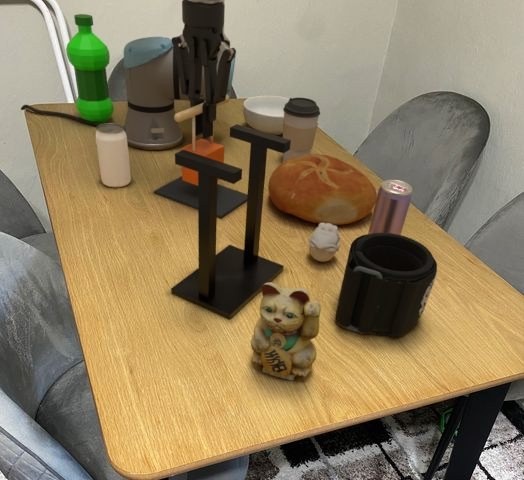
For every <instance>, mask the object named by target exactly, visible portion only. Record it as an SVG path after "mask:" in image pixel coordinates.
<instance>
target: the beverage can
mask: <svg viewBox="0 0 524 480" xmlns="http://www.w3.org/2000/svg"><path fill="white" fill-rule="evenodd" d="M412 198H413V186H412V185H410V183H407V182H405V181H402V180H398V179H386V180H383V181H382V182H381V184H380V186H379V188H378V191H377V199H376V203H375V205H374V207H373V210H372V216H371V220H370V224H369V228H368V233H367V234H373V233H392V234H398V235H402V232H403V229H404V225H405V222H406V218H407V215H408V212H409V208H410V205H411V201H412Z"/></svg>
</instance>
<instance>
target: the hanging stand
mask: <svg viewBox="0 0 524 480" xmlns="http://www.w3.org/2000/svg"><path fill="white" fill-rule="evenodd" d="M229 138H232V139H235V140H239V141H243V142H245V143H248V144H250V148H249V149H250V150H249V164H248V165H249V166H248V179H247V180H248V181H247V201H246V211H245V228H244V229H245V230H244V245H243V249H242V248H239V247H237V246H234V245H232V244H228V245H227V246H226V247H225V248H223V249H222V250H220V251H219V252H218V253H217V222H218V221H217V220H218V219H217V218H218V217H217V184H218V181H217V178H218V179H220V180H221V181H223V182H227V183H230V184H231V185H232V184H233V185H235V184H237V183H239V182H240V181H242V179H243V169H242V168H241V167H237V166H234V165H231V164H230V163H229V164H228V163H225V162H224V163H223V162H219V161H216V160H213V159H210V158H207V157H204V156H201V155H198V154H195V153H192V152H189V151H186V150H180V151H177V152H175V153H174V164H175V165H177V166H179V167H182V166H183V167H186V168H189V169H191V170H194V171H197V172H198V209H197V217H198V219H197V221H198V222H197V226H198V228H197V229H198V231H197V232H198V236H197V237H198V238H197V239H198V240H197V241H198V247H197V249H198V268H196V269H195V270H193V272H190V274H188V275H187V276H186V277H184V278H183V279H182V280H180V281H179V282H178V283H176V284H175V285H174V286H172V287H171V288H170V290H171V291H170V292H171V294H172V295H175V296H177V297H179V298H181V299H184V300H186V301H187V302H190V303H193V304H194V305H197V306H199V307H201V308H204V309H206V310H208V311H210V312H212V313H214V314H217V315H220V316H221V317H224V318H225V319H228V320H231V319H232V318H233V317H235V315H237V314H238V313H239V312H240V311H241V310H242V309H243V308H244V307H245V306H246V305H247V304H248V303H250V302H251V301H252V300H253V299H254V298H255V297H256V296H257V295H259V293H260V292H262V289H261V288H262V285H264V284H265V283H269V282H271V283H272V281H273V280H274V279H275V278H277V277H278V276H279V275H280V274H281V273H282V272H284V267H285V265H283V264H280V263H278V262H275V261H272V260H270V259H268V258H265V257H262V256H260V255H259V252H260V240H261V239H260V238H261V228H262V218H263V217H262V216H263V205H264V193H265V192H264V191H265V179H266V170H267V169H266V168H267V159H268V158H267V155H268V150H272V151H275V152H278V153H281V154H283V153H285V152H287V151H288V150H290V143H291V140H288V139H285V138H283V136H282V137H281V136H279V135H271V134H268V133H265V132H261V131H258V130H256V129H254V128H252V127H247V126H244V125H241V124H238V123H236V124H234V125H232V126H229Z"/></svg>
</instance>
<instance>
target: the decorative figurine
mask: <svg viewBox="0 0 524 480" xmlns="http://www.w3.org/2000/svg"><path fill="white" fill-rule="evenodd" d="M261 289H262V290H261V294H262V298H261V300H260V304H259V316H260V317H259V318H258V320H257V321H256V322H255V325H254V327H253V335H252V336H251V339H250V347H251V350H252V351H253V352H252V363H253V364H256V365H258V366H262V373H265V374H267V375H270V376H273V377H277V378H279V379H284V380H287V381H294V380H295V377H296V376H298V377H303V378H306V377H307V376H308V375H309V374H310V372H311V370H312V367H313V364H314V362H315V361H316V360H317V349H316V346H315V344H314V343H313V341H312V340H313V339H315V338H316V337H317V336H318V335H319V331H320V316H321V311H322V307H321V304H320V302H319V301H317V300H311V298H310V294H309V291H308V290H307V289H306V288H304V287H297V288H292V287H283V286H282V287H280V286H279V285H278V284H276V283H274V282H272V281H271V282H269V283H265V284H264V285H262V288H261Z"/></svg>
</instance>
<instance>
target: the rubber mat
mask: <svg viewBox="0 0 524 480" xmlns="http://www.w3.org/2000/svg"><path fill="white" fill-rule="evenodd" d="M153 194H155V195H157V196H160V197H163V198H166V199H168V200H170V201H173V202H176V203H179V204H181V205H184V206H187V207H190V208H192V209H195V210H198V186H197V185H194V184H192V183H189V182H186V181H183V180H182V175H181V176H179V177H177V178H175V179H174V180H172V181H170V182H168V183H166V184H164V185H162V186H161V187H159V188H157V189H155V190H153ZM247 195H248V193H245V192H241V191H238V190H236V189H232V188H230V187H227V186H224V185H221V184H218V183H217V218H219V219H223V218H225V217H226V216H227V215H229V214H231V212H233V211H234V210H236V209H237V208H239V207H241V206H242V205H243V204H245V203H247Z"/></svg>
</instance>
